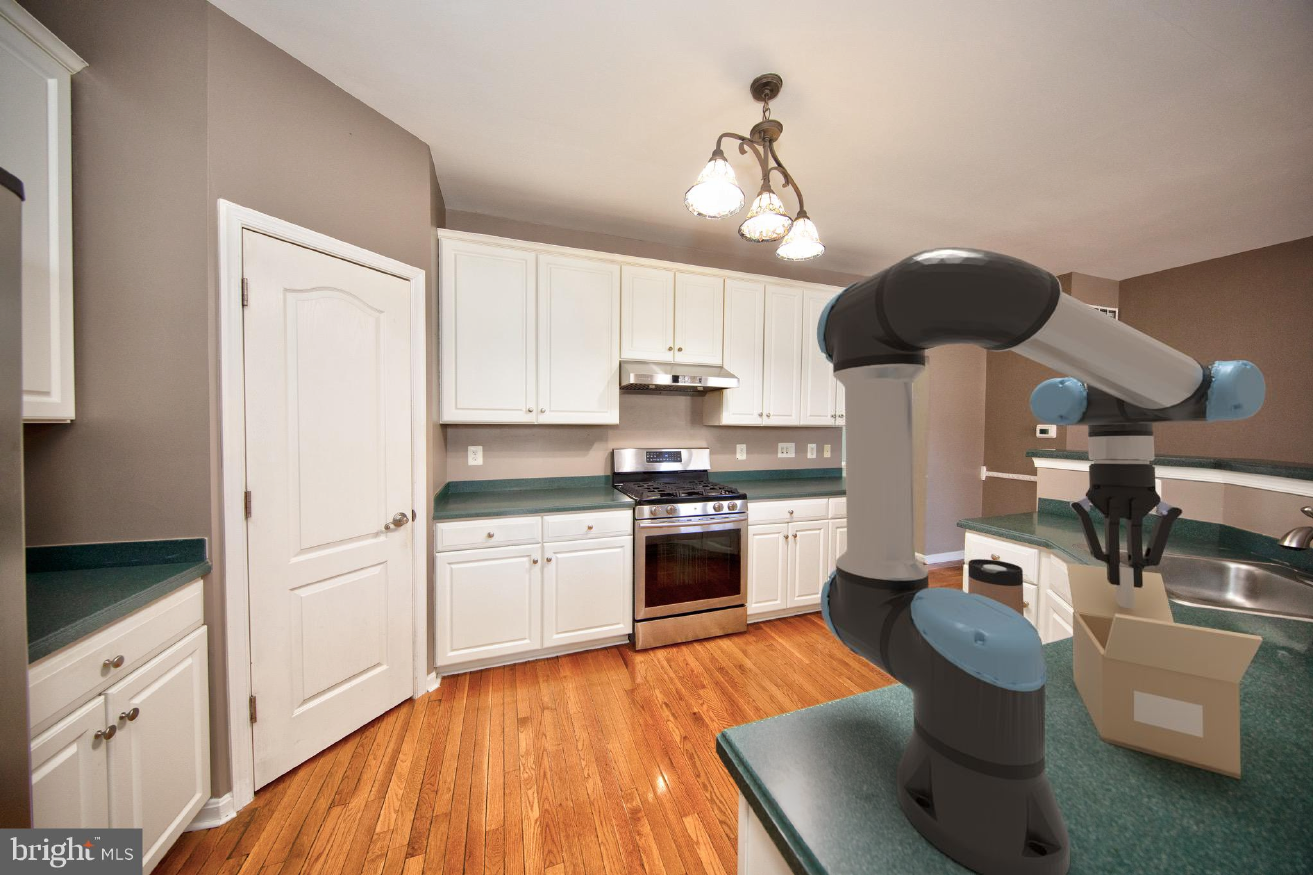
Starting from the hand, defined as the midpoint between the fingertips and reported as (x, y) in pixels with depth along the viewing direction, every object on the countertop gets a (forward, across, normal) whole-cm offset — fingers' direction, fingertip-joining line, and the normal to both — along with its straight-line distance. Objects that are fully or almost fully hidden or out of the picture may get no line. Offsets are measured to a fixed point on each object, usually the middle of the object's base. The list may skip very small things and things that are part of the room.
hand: (1125, 605), depth 71 cm
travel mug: (+15, +18, +7) cm, 24 cm away
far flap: (-1, 0, -3) cm, 3 cm away
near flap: (-1, 0, +21) cm, 21 cm away
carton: (+15, 0, +9) cm, 17 cm away
